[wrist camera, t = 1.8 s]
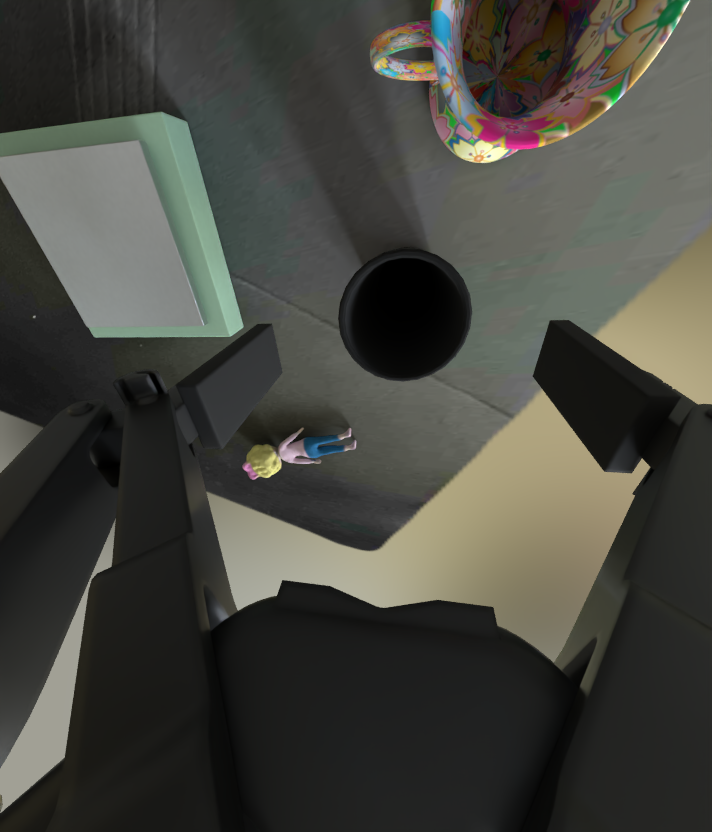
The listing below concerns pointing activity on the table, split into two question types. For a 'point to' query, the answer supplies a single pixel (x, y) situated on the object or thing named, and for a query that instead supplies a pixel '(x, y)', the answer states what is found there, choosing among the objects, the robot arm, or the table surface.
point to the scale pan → (107, 233)
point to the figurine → (291, 453)
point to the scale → (184, 202)
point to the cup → (405, 314)
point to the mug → (525, 66)
